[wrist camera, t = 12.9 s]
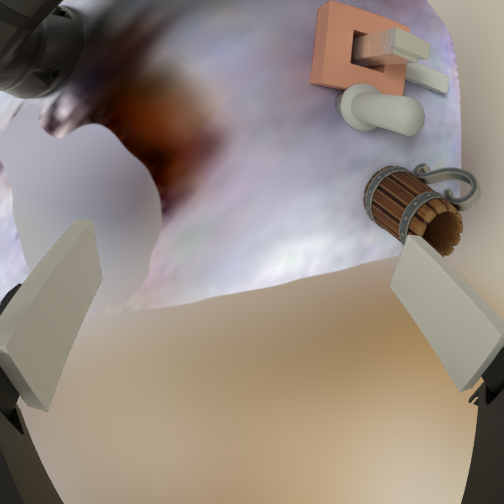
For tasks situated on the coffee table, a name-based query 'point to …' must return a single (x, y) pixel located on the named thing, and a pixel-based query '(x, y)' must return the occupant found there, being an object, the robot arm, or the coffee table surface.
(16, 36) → the robot arm
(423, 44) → the wedge pin
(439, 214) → the mug
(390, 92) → the square hole peg fixture
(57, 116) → the coffee table surface
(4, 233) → the coffee table surface
